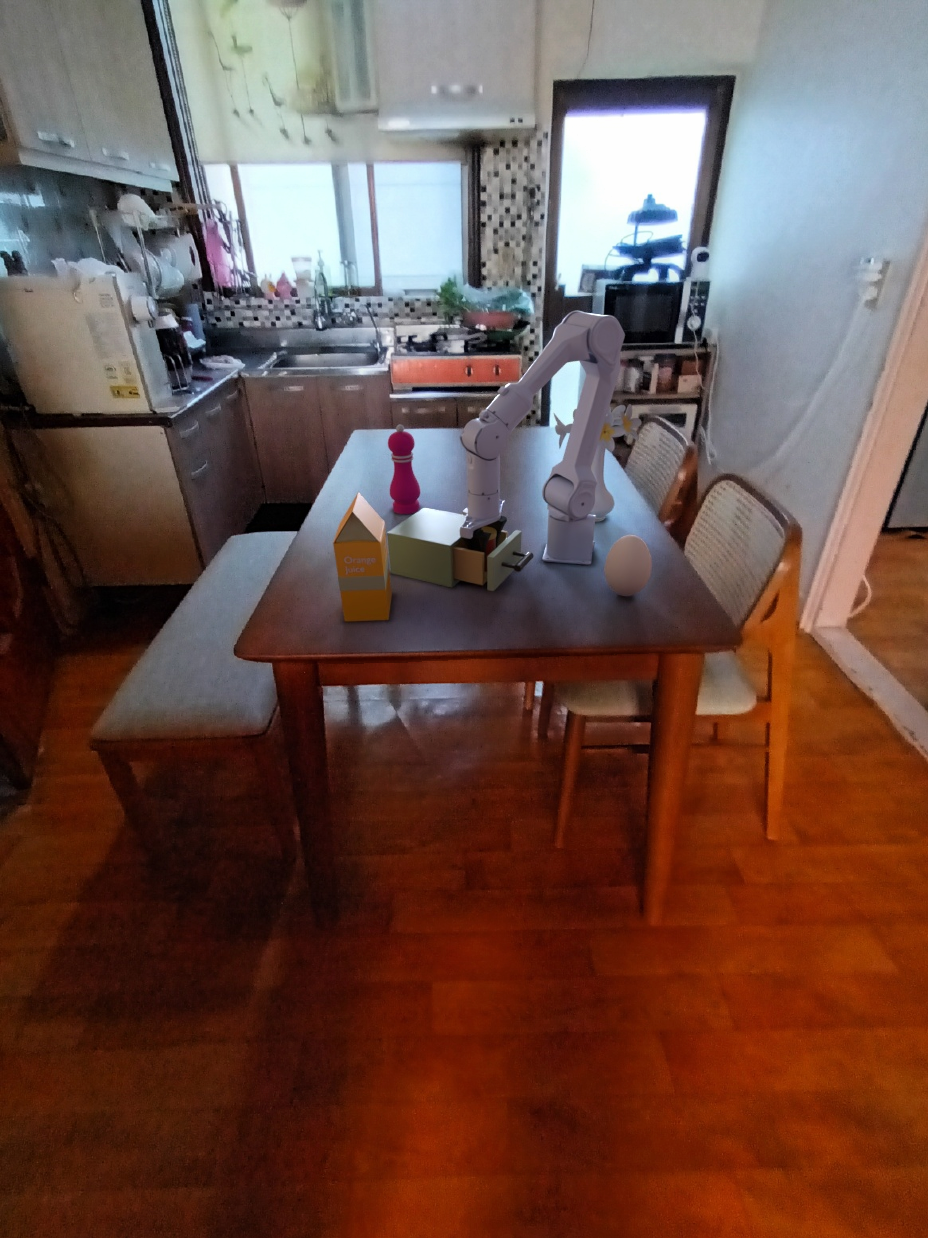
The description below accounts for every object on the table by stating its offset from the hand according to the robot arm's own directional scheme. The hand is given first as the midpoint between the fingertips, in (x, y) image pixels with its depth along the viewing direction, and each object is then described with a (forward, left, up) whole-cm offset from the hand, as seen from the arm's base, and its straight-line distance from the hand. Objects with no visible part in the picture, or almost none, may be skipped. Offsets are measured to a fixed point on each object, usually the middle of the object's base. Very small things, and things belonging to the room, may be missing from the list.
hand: (484, 558), depth 117 cm
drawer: (-1, 0, -3) cm, 3 cm away
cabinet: (+10, -3, -4) cm, 11 cm away
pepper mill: (+25, -30, -4) cm, 39 cm away
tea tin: (0, 0, -2) cm, 2 cm away
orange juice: (+18, +15, -4) cm, 24 cm away
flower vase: (-18, -32, -4) cm, 37 cm away
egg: (-26, +2, -4) cm, 27 cm away
